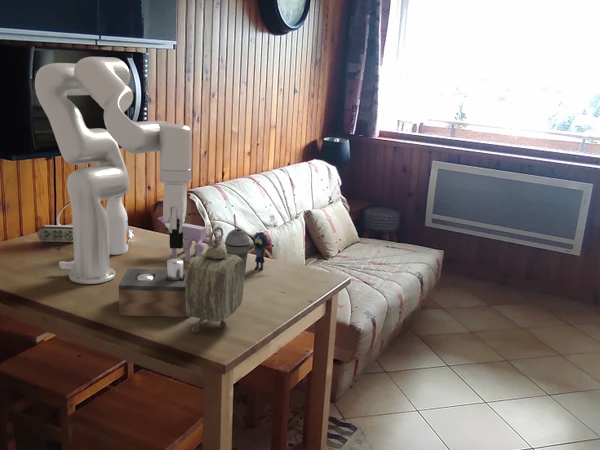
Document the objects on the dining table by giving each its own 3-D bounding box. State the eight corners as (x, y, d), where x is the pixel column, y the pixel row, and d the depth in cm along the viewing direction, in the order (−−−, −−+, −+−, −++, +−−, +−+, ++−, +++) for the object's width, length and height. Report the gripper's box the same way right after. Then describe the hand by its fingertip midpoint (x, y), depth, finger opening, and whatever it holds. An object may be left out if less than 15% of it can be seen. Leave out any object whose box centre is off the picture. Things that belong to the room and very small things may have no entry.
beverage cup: (244, 286, 174) (247, 219, 169) (220, 283, 175) (222, 216, 170) (251, 277, 181) (254, 213, 176) (228, 274, 182) (230, 210, 177)
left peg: (136, 307, 155) (135, 279, 152) (138, 301, 158) (138, 273, 156) (152, 307, 155) (152, 279, 153) (154, 301, 159) (154, 274, 157)
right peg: (166, 292, 154) (166, 263, 152) (168, 286, 158) (168, 258, 156) (182, 292, 155) (182, 264, 152) (183, 286, 158) (184, 258, 156)
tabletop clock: (211, 312, 156) (213, 218, 149) (243, 318, 153) (247, 223, 147) (184, 335, 142) (186, 233, 136) (220, 342, 140) (223, 239, 133)
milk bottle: (124, 256, 193) (123, 194, 187) (100, 254, 193) (98, 193, 187) (131, 248, 200) (130, 189, 195) (107, 247, 200) (106, 187, 195)
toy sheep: (146, 254, 195) (147, 213, 192) (166, 247, 205) (168, 208, 202) (199, 266, 187) (201, 223, 184) (217, 259, 197) (219, 218, 194)
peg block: (119, 315, 150) (118, 285, 148) (128, 296, 162) (127, 268, 160) (190, 316, 152) (191, 287, 150) (194, 298, 164) (194, 270, 162)
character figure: (242, 268, 188) (244, 231, 185) (249, 264, 192) (250, 228, 189) (269, 274, 185) (271, 236, 182) (275, 270, 189) (277, 233, 185)
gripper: (164, 169, 155) (165, 238, 160) (155, 181, 141) (157, 256, 145) (193, 170, 156) (194, 239, 160) (188, 182, 141) (188, 257, 146)
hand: (176, 247), depth 153 cm, fingers closed
